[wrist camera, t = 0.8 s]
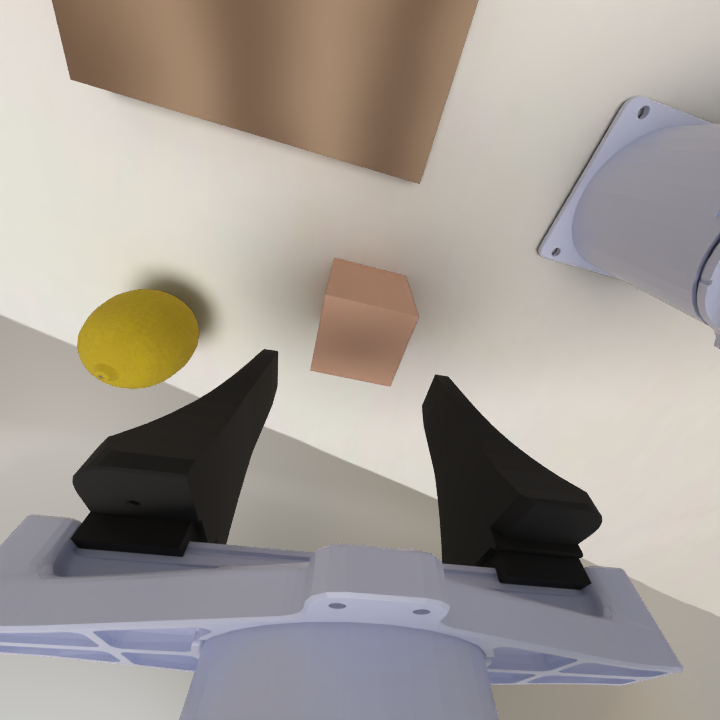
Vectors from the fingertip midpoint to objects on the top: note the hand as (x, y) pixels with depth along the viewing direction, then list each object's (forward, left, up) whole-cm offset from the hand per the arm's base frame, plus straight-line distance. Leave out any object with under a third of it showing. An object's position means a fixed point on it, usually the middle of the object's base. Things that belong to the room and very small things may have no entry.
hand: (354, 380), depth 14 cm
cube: (0, 0, -10) cm, 10 cm away
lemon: (+13, +4, -10) cm, 16 cm away
